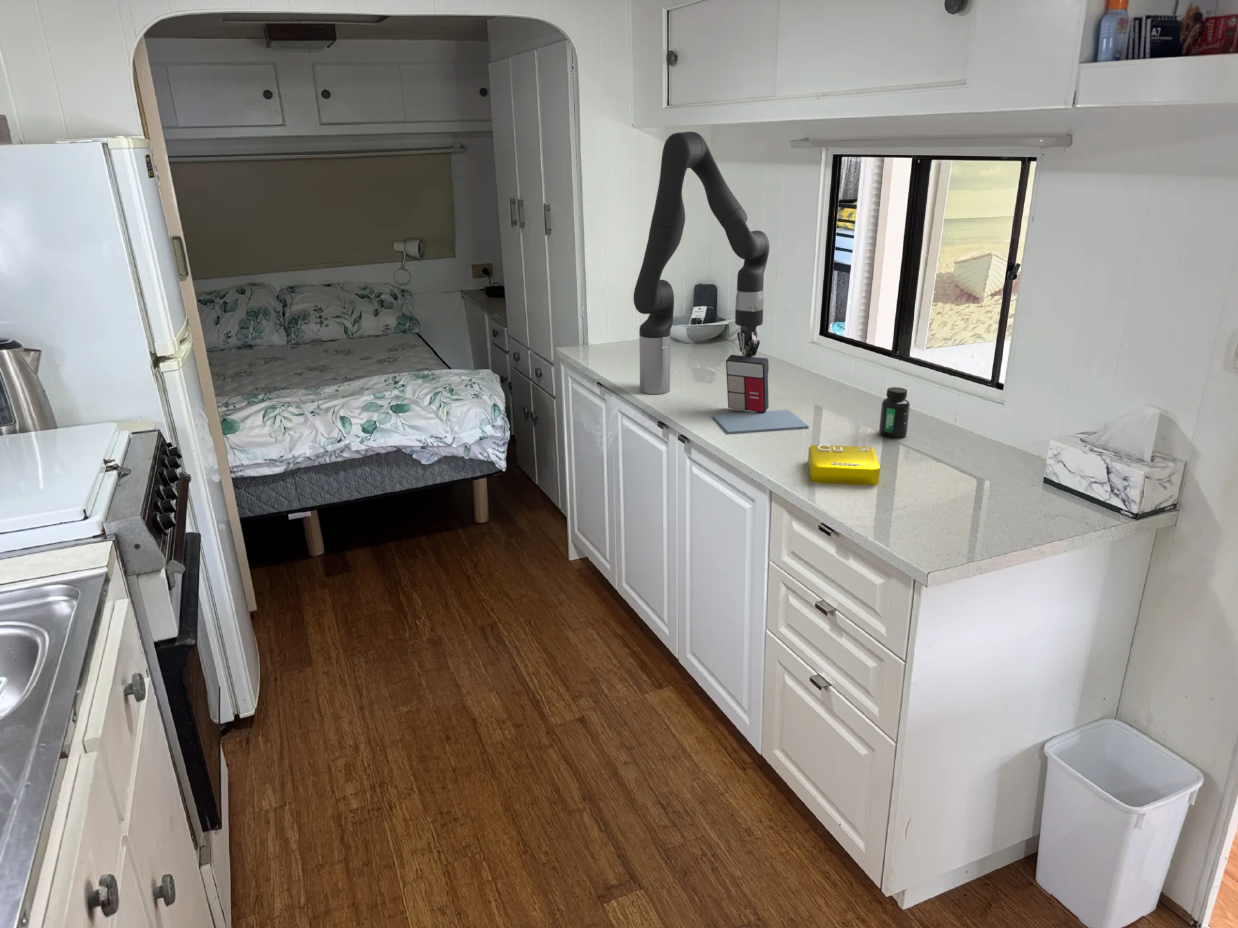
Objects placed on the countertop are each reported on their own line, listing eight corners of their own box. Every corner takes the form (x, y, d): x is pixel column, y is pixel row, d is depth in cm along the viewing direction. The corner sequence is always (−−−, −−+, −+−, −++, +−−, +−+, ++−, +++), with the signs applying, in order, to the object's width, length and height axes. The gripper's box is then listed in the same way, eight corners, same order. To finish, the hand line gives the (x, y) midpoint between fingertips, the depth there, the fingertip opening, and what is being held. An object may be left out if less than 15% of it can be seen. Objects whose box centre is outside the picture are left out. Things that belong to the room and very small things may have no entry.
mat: (712, 417, 237) (712, 414, 237) (788, 411, 240) (788, 409, 240) (727, 434, 223) (728, 431, 223) (808, 428, 226) (808, 426, 226)
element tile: (810, 484, 191) (811, 464, 189) (807, 460, 205) (808, 442, 203) (879, 487, 189) (881, 467, 187) (872, 463, 203) (874, 444, 201)
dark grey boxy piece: (726, 409, 241) (724, 360, 234) (732, 402, 244) (730, 354, 237) (764, 414, 236) (763, 364, 229) (769, 407, 240) (768, 358, 232)
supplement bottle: (890, 440, 216) (895, 394, 212) (873, 432, 222) (877, 387, 218) (912, 436, 219) (917, 391, 214) (894, 429, 225) (899, 384, 220)
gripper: (728, 303, 238) (727, 364, 244) (743, 312, 226) (741, 376, 232) (754, 302, 239) (752, 363, 245) (770, 310, 227) (767, 374, 233)
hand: (747, 369), depth 239 cm, fingers closed
